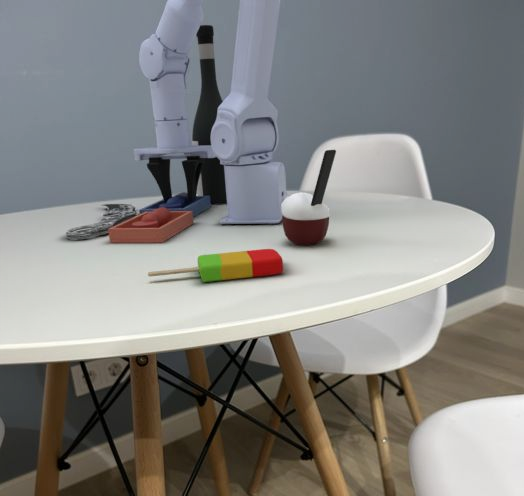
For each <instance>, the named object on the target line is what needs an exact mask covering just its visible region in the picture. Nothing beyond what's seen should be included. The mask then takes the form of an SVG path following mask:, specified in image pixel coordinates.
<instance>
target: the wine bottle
mask: <svg viewBox="0 0 524 496" xmlns="http://www.w3.org/2000/svg"><path fill="white" fill-rule="evenodd" d="M214 33H215V32H214V26H213V25H211V24H201V25H200V27H199V29H198V32H197V34H196V36H195V37H196V38H197V46H198V56H199V57H198V58H199V68H200V79H201V81H200V82H201V87H200V95H199V101H198V105H197V109H196V112H195V116H194V120H193V125H192V136H191V138H192V139H191V142H192V146H202V145H211V130H212V127H213V125H214V123H215V121H216V118H217V110H218V107H219V106H220V105H221V103H222V102H223V101H224V100H223V98H222V96H221V93H220V90H219V87H218V82H217V81H218V80H217V73H216V59H215V58H216V57H215V45H214V36H215V34H214ZM203 159H205V162H204V165H203V168H202V171H201V174H200V177H199V181H198V186H197V193H196V195H197V196H210V203H211V205H223V204H227V197H226V184H225V172H224V165H223V164H220V160H219V159H218V158H217V157H214V158H203Z"/></svg>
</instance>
